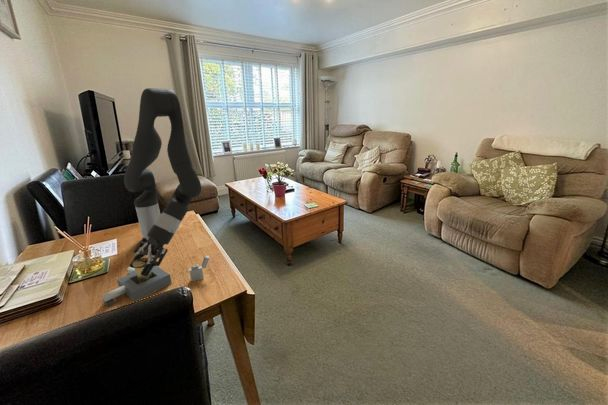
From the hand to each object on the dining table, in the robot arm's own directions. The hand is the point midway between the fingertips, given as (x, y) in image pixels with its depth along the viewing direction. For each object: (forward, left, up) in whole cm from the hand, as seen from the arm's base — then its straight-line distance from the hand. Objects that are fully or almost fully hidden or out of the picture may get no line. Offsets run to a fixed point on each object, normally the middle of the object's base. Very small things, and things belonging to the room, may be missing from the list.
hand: (137, 271), depth 90 cm
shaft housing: (-2, -2, -6) cm, 7 cm away
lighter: (+12, +15, -7) cm, 21 cm away
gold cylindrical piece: (0, +2, -6) cm, 7 cm away
